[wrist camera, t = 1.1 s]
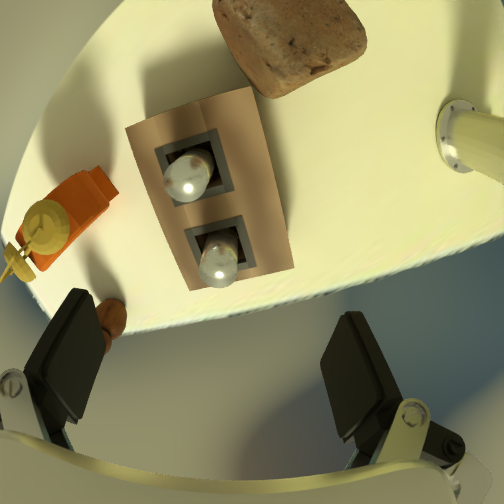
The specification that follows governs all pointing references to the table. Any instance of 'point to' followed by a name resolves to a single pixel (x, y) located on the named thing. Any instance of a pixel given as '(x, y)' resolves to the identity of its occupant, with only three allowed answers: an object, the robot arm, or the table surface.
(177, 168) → the peg
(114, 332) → the wooden figurine
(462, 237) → the table surface
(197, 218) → the socket block
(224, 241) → the peg
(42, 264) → the alarm clock
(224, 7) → the block
